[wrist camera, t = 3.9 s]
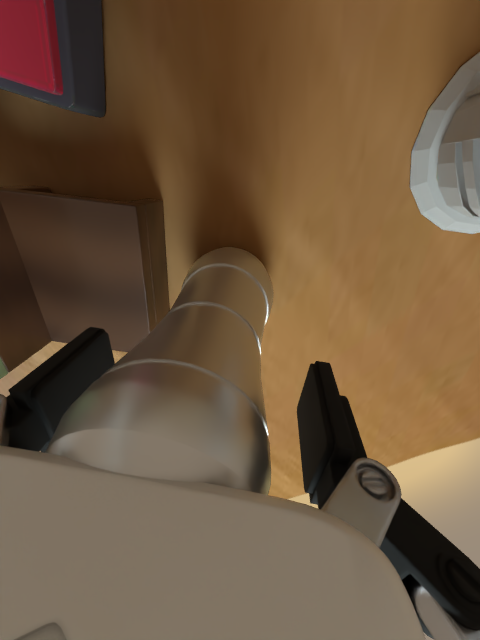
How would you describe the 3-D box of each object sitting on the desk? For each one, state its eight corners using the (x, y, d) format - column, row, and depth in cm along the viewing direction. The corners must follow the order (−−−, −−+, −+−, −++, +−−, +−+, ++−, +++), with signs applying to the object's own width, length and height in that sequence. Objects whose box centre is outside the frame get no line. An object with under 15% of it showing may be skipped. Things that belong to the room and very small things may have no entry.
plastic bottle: (278, 243, 18) (416, 1758, 1) (268, 322, 21) (248, 917, 4) (192, 236, 18) (-945, 1072, 1) (195, 314, 22) (-90, 822, 5)
